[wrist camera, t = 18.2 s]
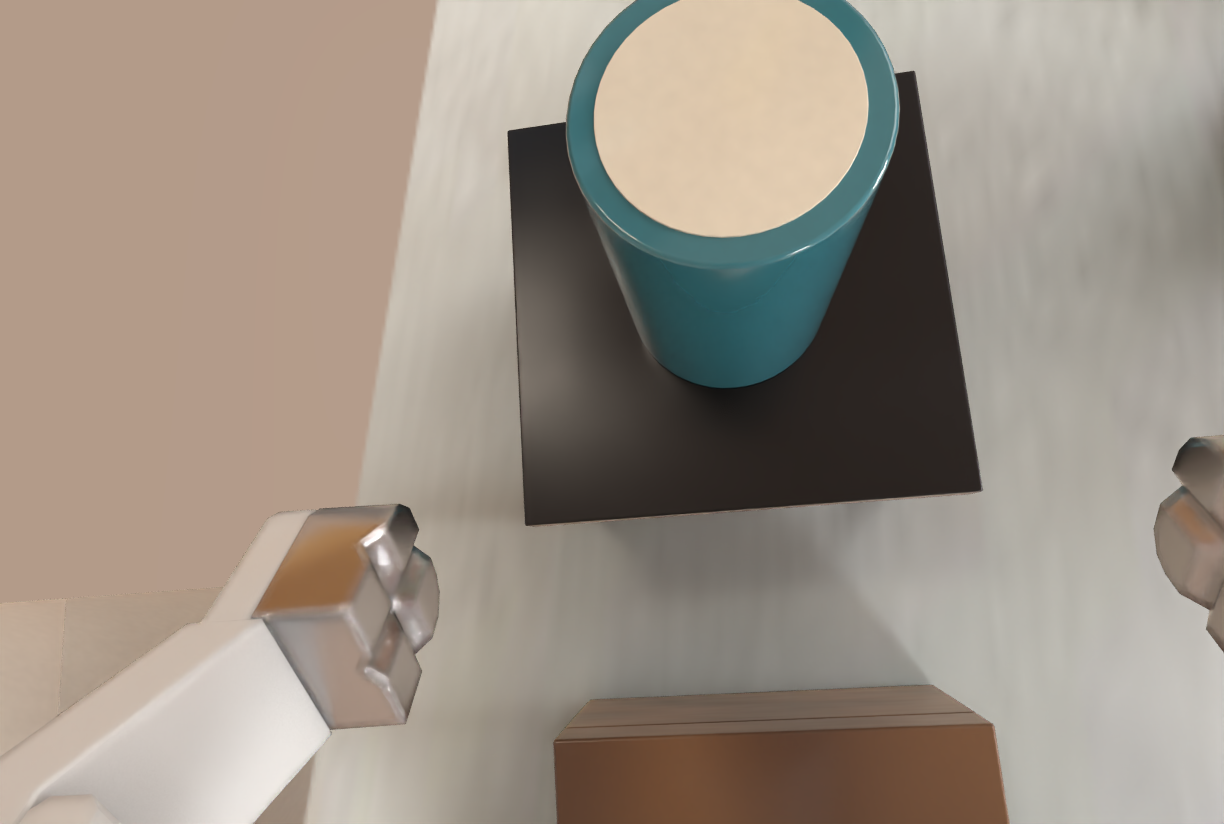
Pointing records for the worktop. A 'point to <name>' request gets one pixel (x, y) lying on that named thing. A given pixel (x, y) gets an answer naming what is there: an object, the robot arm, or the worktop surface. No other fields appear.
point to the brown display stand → (780, 760)
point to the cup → (731, 171)
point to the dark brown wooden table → (742, 416)
